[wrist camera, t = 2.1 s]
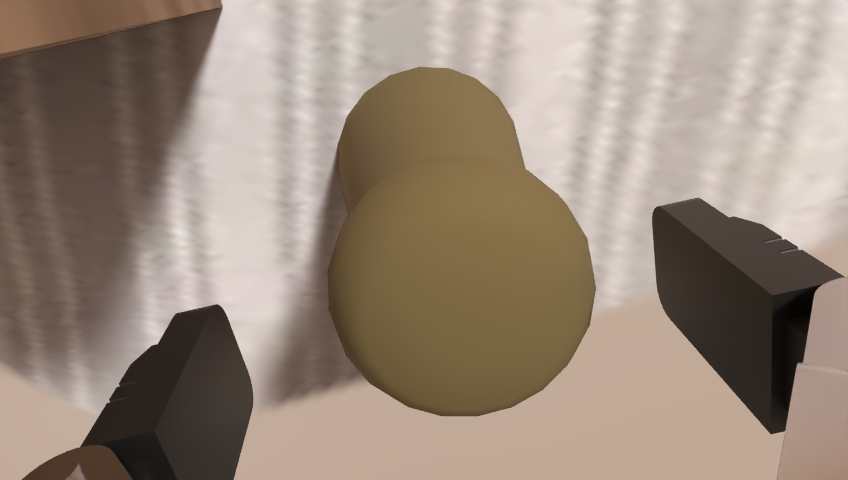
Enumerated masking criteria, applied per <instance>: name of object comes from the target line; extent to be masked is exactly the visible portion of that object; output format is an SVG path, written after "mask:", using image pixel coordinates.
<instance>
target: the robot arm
mask: <svg viewBox="0 0 848 480" xmlns="http://www.w3.org/2000/svg"><path fill="white" fill-rule="evenodd" d="M652 225H653V240H654V254H655V268H656V282H657V290H658V294H659V298H660V301H661V304H662V306H663V309H664V311H665V312H666V314H667V316H668V317H669V318H670V320H671V321H672V322H673V323H674V324H675V325H676V326H677V328H678V329H679V330H680V331H681V332H682V333H683V334H684V336H685V337H686V338H687V339H688V340H689V341H690V342H691V343H692V345H693V346H694V347H695V348H696V349H697V350H698V352H699V353H700V354H701V355H702V356H703V357H704V358H705V360H706V361H707V362H708V363H709V364H710V365H711V366H712V368H713V369H714V370H715V371H716V372H717V373H718V374H719V375H720V377H721V378H722V379H723V380H724V381H725V382H726V383H727V385H728V386H729V387H730V388H731V389H732V390H733V392H734V393H735V394H736V395H737V396H738V397H739V398H740V399H741V401H742V402H743V403H744V404H745V405H746V406H747V408H748V409H749V410H750V411H751V412H752V413H753V414H754V416H755V417H756V418H757V419H758V420H759V421H760V422H761V424H762V425H763V426H764V427H765V428H766V429H767V430H768V431H769V433H770V434H774V433H779V432H783V431H785V436H784V441H783V447H782V452H781V458H780V464H779V470H778V475H777V480H848V277H844V276H842V275H841V274H839V273H838V272H836V271H835V270H833V269H832V268H830V267H828V266H827V265H825V264H824V263H822V262H820V261H819V260H817V259H816V258H814V257H813V256H811V255H809V254H808V253H806V252H805V251H803V250H798V247H797V246H795V245H794V244H792V243H791V242H789V241H787V240H786V239H785V240H782V237H781V236H780V235H778V234H776V233H775V232H773V231H772V230H770V229H769V228H767V227H765V226H764V225H762V224H759V223H755V222H752V221H748V220H745V219H741V218H738V217H730V218H729V217H727V216H726V215H724V214H723V213H721V212H720V211H718V210H717V209H715V208H714V207H712V206H711V205H709V204H708V203H706V202H705V201H703V200H702V199H700V198H694V199H690V200H685V201H681V202H676V203H672V204H667V205H663V206H658V207H656V208H655V209H654V212H653V216H652ZM119 385H120V387H117V388H116V389H115V391H114V393H113V394H112V396H111V397H110V399H109V400H110V403H107V404H106V406H105V407H104V409H103V411H102V412H101V414H100V416H99V417H98V419H97V420H96V422H95V424H94V425H93V427H92V429H91V431H90V432H89V434H88V435H87V437H86V438H85V440H84V442H83V443H82V445H81V447H80V448H76V449H73V450H70V451H67V452H65V453H63V454H60V455H58V456H56V457H54V458H52V459H50V460H48V461H47V462H45V463H43V464H42V465H40V466H39V467H37V468H36V469H34V470H33V471H32V472H30V473H29V474H28V475H27V476H25V477H24V478H23V479H22V480H233V479H234V476H235V472H236V468H237V465H238V461H239V457H240V453H241V449H242V446H243V442H244V438H245V435H246V431H247V427H248V423H249V420H250V416H251V412H252V408H253V390H252V384H251V380H250V376H249V373H248V370H247V368H246V365H245V362H244V360H243V357H242V355H241V352H240V349H239V347H238V344H237V341H236V339H235V336H234V334H233V331H232V328H231V326H230V323H229V320H228V318H227V315H226V313H225V311H224V310H223V308H222V307H221V306H219V305H217V304H216V305H212V306H207V307H203V308H198V309H194V310H189V311H185V312H180V313H177V314H175V315H174V317H173V319H172V320H171V322H170V324H169V326H168V327H167V329H166V331H165V333H164V334H163V336H162V338H161V340H160V341H159V343H158V344H157V345H153V346H151V347H150V348H149V349H148V350H146V351H145V352H144V353H143V354H142V355H141V356H140V357H139V358H137V359H136V360H135V361H134V362H133V363H132V364H131V365H130V366H129V368H128V370H127V371H126V373H125V375H124V376H123V378H122V379H121V381H120V383H119Z"/></svg>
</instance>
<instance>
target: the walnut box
mask: <svg viewBox="0 0 848 480" xmlns="http://www.w3.org/2000/svg"><path fill="white" fill-rule="evenodd" d="M220 7H223V6H222V3H221V0H0V59H5V58H9V57H13V56H17V55H22V54H26V53H30V52H34V51H38V50H43V49H47V48H51V47H55V46H59V45H64V44H68V43H72V42H76V41H81V40H85V39H89V38H93V37H97V36H102V35H106V34H110V33H114V32H119V31H123V30H127V29H131V28H135V27H140V26H144V25H148V24H152V23H157V22H161V21H165V20H169V19H173V18H178V17H182V16H186V15H190V14H195V13H199V12H203V11H207V10H211V9H216V8H220Z"/></svg>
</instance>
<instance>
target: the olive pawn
mask: <svg viewBox="0 0 848 480" xmlns="http://www.w3.org/2000/svg"><path fill="white" fill-rule="evenodd" d="M338 162H339V175H340V180H341V184H342V188H343V192H344V196H345V201H346V205H347V209H348V213H349V216H348V217H347V218H346V220H345V221H344V223H343V225H342V228H341V231H340V234H339V237H338V240H337V242H336V245H335V248H334V251H333V254H332V257H331V260H330V265H329V269H328V295H329V311H330V314H331V317H332V319H333V322H334V325H335V327H336V330H337V333H338V335H339V338H340V341H341V343H342V346H343V348H344V351H345V354H346V356H347V357H348V358H349V360H350V361H351V362H352V363H353V364H354V365H355V367H356V368H357V369H358V370H359V371H360V372H361V374H362V375H363V376H364V377H365V378H366V379H367V381H368V382H369V383H370V384H372V385H373V386H375V387H377V388H378V389H380V390H381V391H383V392H385V393H386V394H388V395H390V396H391V397H393V398H394V399H396V400H398V401H400V402H401V403H403V404H404V405H406V406H408V407H410V408H414V409H418V410H421V411H425V412H429V413H433V414H436V415H440V416H480V415H484V414H488V413H492V412H495V411H499V410H503V409H507V408H511V407H513V406H515V405H517V404H518V403H520V402H522V401H524V400H526V399H527V398H529V397H531V396H533V395H534V394H536V393H538V392H540V391H541V390H543V389H544V388H545V387H546V386H547V385H548V384H549V383H550V382H551V381H552V380H553V379H554V378H555V377H556V376H557V375H558V374H559V373H560V372H561V371H562V370H563V369H564V368H565V367H566V366H567V365H568V363H569V362H570V360H571V359H572V357H573V355H574V353H575V351H576V350H577V348H578V346H579V344H580V342H581V340H582V338H583V337H584V335H585V333H586V331H587V329H588V327H589V325H590V320H591V314H592V308H593V302H594V296H595V290H596V287H595V279H594V273H593V268H592V262H591V257H590V252H589V246H588V241H587V237H586V236H585V234H584V232H583V231H582V229H581V227H580V226H579V224H578V222H577V221H576V219H575V218H574V216H573V214H572V213H571V211H570V209H569V208H568V206H567V204H566V203H565V202H564V201H563V200H562V199H561V197H560V196H559V195H558V194H556V193H555V192H554V191H553V190H552V189H550V188H549V187H548V186H547V185H545V184H544V183H543V182H542V181H540V180H539V179H538V178H537V177H535V176H534V175H533V174H532V173H530V172H529V171H528V170H526V169H525V165H524V161H523V157H522V154H521V150H520V146H519V142H518V138H517V134H516V130H515V126H514V122H513V120H512V119H511V117H510V115H509V114H508V112H507V110H506V109H505V107H504V105H503V104H502V102H501V101H500V99H499V97H497V96H496V95H495V94H494V93H493V92H491V91H490V90H489V89H488V88H487V87H485V86H484V85H483V84H482V83H481V82H479V81H478V80H477V79H475V78H473V77H470V76H467V75H465V74H462V73H460V72H457V71H454V70H452V69H449V68H427V67H418V68H414V69H411V70H407V71H404V72H400V73H397V74H394V75H390V76H388V77H387V78H386V79H384V80H383V81H381V82H380V83H378V84H377V85H375V86H374V87H373V88H371V89H370V90H368V91H367V92H365V93H364V95H363V96H362V97H361V99H360V100H359V101H358V103H357V104H356V105H355V107H354V108H353V109H352V111H351V112H350V113H349V115H348V116H347V119H346V122H345V125H344V128H343V131H342V134H341V137H340V140H339V143H338Z"/></svg>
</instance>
